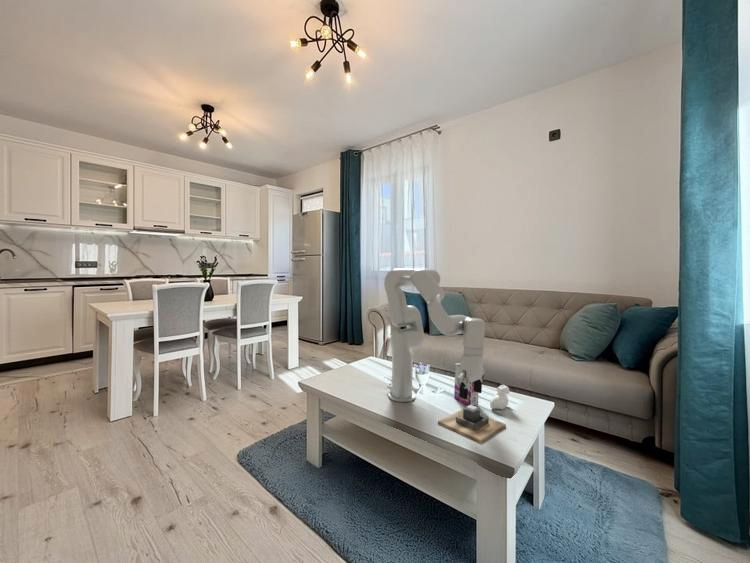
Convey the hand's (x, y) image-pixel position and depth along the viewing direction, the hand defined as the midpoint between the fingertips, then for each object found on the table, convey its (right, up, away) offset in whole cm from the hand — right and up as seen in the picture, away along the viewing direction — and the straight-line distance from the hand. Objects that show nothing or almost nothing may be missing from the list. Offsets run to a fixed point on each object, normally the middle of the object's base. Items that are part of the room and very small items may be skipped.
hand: (470, 394), depth 120 cm
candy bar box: (+5, -11, +22) cm, 25 cm away
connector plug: (0, -10, 0) cm, 10 cm away
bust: (+18, -12, +16) cm, 27 cm away
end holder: (0, -11, 0) cm, 11 cm away
